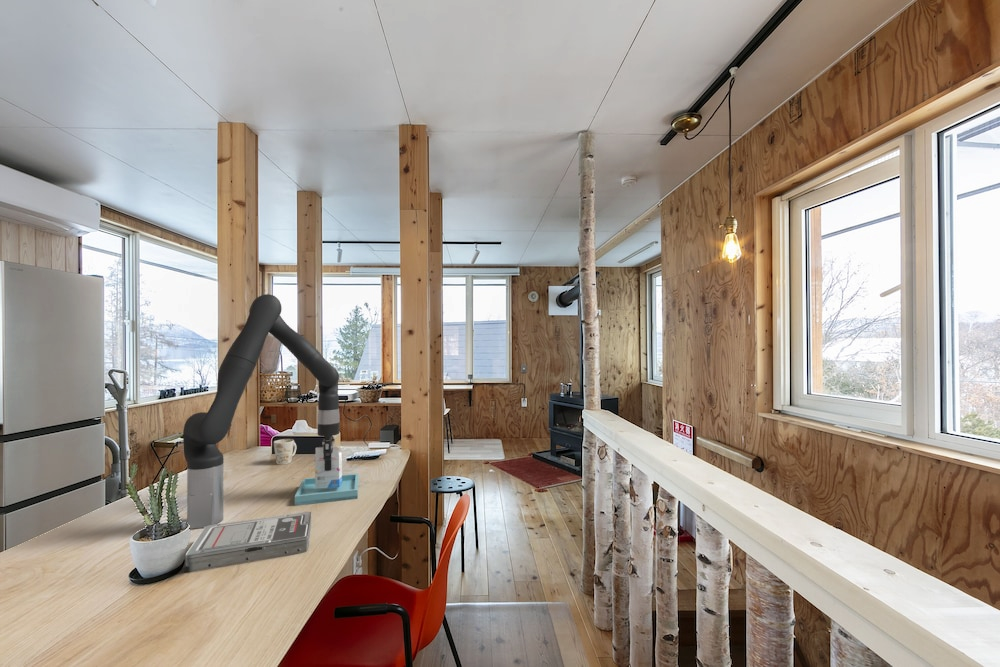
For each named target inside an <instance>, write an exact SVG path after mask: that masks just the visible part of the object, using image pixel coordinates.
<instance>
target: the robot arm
mask: <svg viewBox="0 0 1000 667" xmlns="http://www.w3.org/2000/svg"><path fill="white" fill-rule="evenodd" d="M282 310H283V308H282V304H281V301H280V300H279V298H278V297H276V295H273V294H268V293H266V294H262V295H260V296H257V297H256V298H254V300H253V301H252V303H251V305H250V306H249V310H248V312H249V315H248V317H247V319H246V322H245V324H244V326H243V328H242V329H241V331H240V332H239V334H238V335H237V337H236V338H235V340H234V341H233V343H232V344H231V345H230V348H229V349H228V351H227V353H226V354H225V356H224V358H223V360H222V362H221V364H220V366H219V368H218V373H217V382H216V383H217V384H216V385H217V386H216V387H217V389H216V393H215V394H216V395H215V397H214V399H213V401H212V403H211V405H210V407H209V409H208V411H206V412H196V413H193V414H192V415H190V417H189V416H188V418H187V419H186V421H185V422H184V426H183V430H182V432H183V434H182V436H183V437H182V438H183V440H182V441H183V442H182V444H183V455H184V456H183V457H184V459H185V462H186V467H187V468H186V469H187V471H186V474H187V475H186V476H187V477H186V482H187V483H186V519H187V520H186V523H187V522H188V524H189V525H190V529H189V530H192V529H199V528H204V527H206V526H209V525H215V524H220V522H222V521H223V520H224V467H225V465H224V459H225V458H224V454H223V453H222V452H221V451H220V450H219V448H218V446H217V444H218V443H220V442H221V441H223V439H224V438H225V437H226V436H227V434H228V433H229V430H230V428H231V425H232V422H233V420H234V416H235V414H236V410H237V407H238V405H239V402H240V400H241V398H242V396H243V394H244V391H245V389H246V387H247V385H248V382H249V380H250V378H251V377H252V374H253V372H254V371H255V369H256V366H257V364H258V361H259V359H260V356H261V354H262V351H263V348H264V345H265V343H266V339H267V337H268V334H270V335H271V336H273V337H274V338H275V339H277V340H278V341H279V343H280V344H282V345H283V346H284V347H285V348H286V349H287V350H288V351H289V352H290V353H291V355H293V356H294V357H295V358H296V359H297V361H299V363H301V364H302V365H303V366H304V367H305V368H306V369H307V370H308V371H309V372H310V373H311V375H313V376H314V378H315V379H316V380H317V382H318V402H317V403H318V404H317V405H318V406H317V409H318V410H317V436H318V437H324V439H323V440H322V447H323V454H324V457H323V459H324V460H325V471H330V470H331V460H332V453H333V448H332V450H331V447H335V441H336V440H335V437H334V436H337V435H339V434H340V430H341V429H340V425H341V424H340V418H341V416H340V415H341V414H340V400H339V399H340V397H339V380H340V374H339V372H338V370H337V369H336V368H335V367H334V366H333V365H331V363H330V362H328V361H327V359H325V358H324V357H323V354H321V352H320V350H318V349H317V348H316V347H315V346H314V345H313V343H311V342H310V340H308V339H307V338H305V337H304V336H303V335H301V334H299V332H297V331H295V330H294V329H293V328H291V326H290V325H289V324H287V323H286V321H285V320H284V319H283V317H282V316H281V313H282ZM328 453H329V454H330V456H326V454H328Z"/></svg>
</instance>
